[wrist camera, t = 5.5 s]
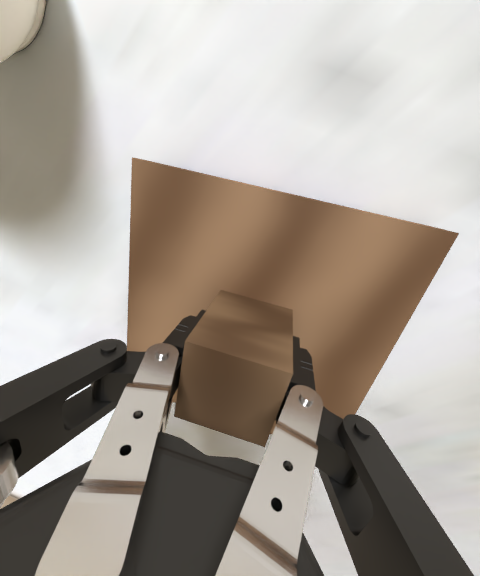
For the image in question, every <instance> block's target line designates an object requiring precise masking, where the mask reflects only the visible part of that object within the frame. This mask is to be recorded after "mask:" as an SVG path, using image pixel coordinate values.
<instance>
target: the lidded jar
mask: <svg viewBox="0 0 480 576" xmlns="http://www.w3.org/2000/svg"><path fill="white" fill-rule="evenodd" d="M45 7H46V0H0V63H1V62H3V61H5V60H6V59H8V58H9V57H10V56H11V55H12V54H14V53H16V52H19V51H21V50H23V49H24V48H26V47H27V46H28V45H29V44H30V43H31V42H32V41H33V39H34V38H35V37H36V35H37V33H38V31H39V29H40V27H41V24H42V21H43V18H44V12H45Z"/></svg>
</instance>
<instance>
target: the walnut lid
mask: <svg viewBox="0 0 480 576" xmlns="http://www.w3.org/2000/svg"><path fill="white" fill-rule="evenodd" d="M458 234H459V233H455V232H451V231H447V230H444V229H439V228H435V227H431V226H426V225H422V224H418V223H414V222H409V221H405V220H401V219H396V218H392V217H388V216H383V215H379V214H375V213H371V212H366V211H362V210H358V209H353V208H349V207H345V206H340V205H336V204H332V203H328V202H323V201H319V200H315V199H310V198H306V197H302V196H297V195H293V194H289V193H285V192H280V191H276V190H272V189H267V188H263V187H259V186H254V185H250V184H246V183H242V182H237V181H233V180H229V179H224V178H220V177H216V176H211V175H207V174H203V173H199V172H194V171H190V170H186V169H181V168H177V167H173V166H168V165H164V164H160V163H156V162H151V161H147V160H142V159H137V158H132V180H131V218H130V255H129V293H128V330H127V351H137V352H145V351H147V349H148V348H149V347H150V346H152V345H155V344H158V343H163V342H164V340H165V339H166V338H167V337H168V336H169V335H170V333H171V332H172V331H173V330H174V329H175V327H176V326H177V325H178V324H179V323H180V322H181V320H182V319H183V318H185V317H188V316H190V315H192V316H195V317H196V316H197V315H198V314H199V312H200V311H201V310H202V309H203V310H206V312H205V313H204V315H203V316H202V318H201V319H200V320H199V322H198V323H197V325H196V326H195V327H194V329H193V330H192V332H191V333H190V335H189V336H188V337H187V339H186V340H185V344H184V351H183V358H182V365H181V372H180V379H179V386H178V389H177V390H176V392H175V394H174V395H173V400H172V402H175V403H176V407H175V414H174V416H175V417H178V418H180V419H183V420H186V421H189V422H192V423H195V424H198V425H201V426H204V427H207V428H210V429H213V430H216V431H219V432H222V433H225V434H228V435H231V436H234V437H237V438H240V439H243V440H246V441H249V442H252V443H254V444H257V445H260V446H263V447H265V445H266V442H267V440H268V437H269V434H273V432H274V429H275V427H276V420H275V419H276V417H277V414H278V411H279V409H280V406H281V404H282V401H283V399H284V396H285V393H286V391H287V388H288V386H289V383H290V381H291V378H292V375H293V336H296V337H299V339H300V348H304V349H307V350H308V352H309V353H310V355H311V357H312V365H313V372H314V381H315V389H316V392H317V393H318V394H319V396H320V397H321V399H322V401H323V406H324V407H325V408H326V409H328V410H329V411H330V412H332V413H334V414H335V415H337V416H339V417H340V418H342V419H344V417H345V416H347V415H349V414H354V415H355V413H356V412H357V410H358V408H359V406H360V405H361V403H362V401H363V399H364V398H365V396H366V394H367V392H368V391H369V389H370V387H371V386H372V384H373V382H374V380H375V379H376V377H377V375H378V373H379V372H380V370H381V368H382V366H383V365H384V363H385V361H386V359H387V358H388V356H389V354H390V352H391V351H392V349H393V347H394V345H395V344H396V342H397V340H398V339H399V337H400V335H401V333H402V332H403V330H404V328H405V326H406V325H407V323H408V321H409V319H410V318H411V316H412V314H413V312H414V311H415V309H416V307H417V305H418V304H419V302H420V300H421V298H422V297H423V295H424V293H425V292H426V290H427V288H428V286H429V285H430V283H431V281H432V279H433V278H434V276H435V274H436V272H437V271H438V269H439V267H440V265H441V264H442V262H443V260H444V258H445V257H446V255H447V253H448V251H449V250H450V248H451V246H452V245H453V243H454V241H455V239H456V238H457V236H458Z"/></svg>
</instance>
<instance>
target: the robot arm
mask: <svg viewBox="0 0 480 576" xmlns="http://www.w3.org/2000/svg"><path fill="white" fill-rule="evenodd" d="M205 312H206V310H203V309H202V310H201V311H200V312H199V314H198V315H197V316H196V317H195V316H192V315H190V316H188V317H185V318H183V319H182V320H181V322H180V323H179V324H178V325H177V326H176V327H175V329H174V330H173V331H172V332H171V333H170V335H169V336H168V337H167V338H166V339H165V340H164V342H163V343H158V344H155V345H152V346H150V347H149V348H148V349H147V351H145V352H137V351H127V346H126V344H125V343H124V342H122V341H120V340H117V339H106V340H102V341H99V342H97V343H94V344H92V345H90V346H88V347H86V348H83V349H81V350H79V351H77V352H74V353H72V354H70V355H68V356H66V357H63V358H61V359H59V360H57V361H55V362H52V363H50V364H48V365H46V366H44V367H41V368H39V369H37V370H35V371H32V372H30V373H28V374H26V375H24V376H21V377H19V378H17V379H15V380H13V381H10V382H8V383H6V384H4V385H2V386H0V507H1V506H2V504H3V502H4V500H5V499H6V498H7V497H8V496H9V495H10V493H11V492H12V491H13V489H14V487H15V485H16V483H17V480H18V478H19V477H21V476H22V475H24V474H25V473H26V472H28V471H29V470H30V469H32V468H33V467H35V466H36V465H37V464H39V463H40V462H41V461H43V460H44V459H46V458H47V457H48V456H50V455H51V454H52V453H54V452H55V451H57V450H58V449H59V448H61V447H62V446H63V445H65V444H66V443H68V442H69V441H70V440H72V439H73V438H74V437H76V436H77V435H79V434H80V433H81V432H83V431H84V430H86V429H87V428H88V427H90V426H91V425H92V424H94V423H95V422H97V421H98V420H99V419H101V418H102V417H103V416H105V415H106V414H108V413H109V412H110V411H112V410H113V409H114V408H116V409H115V411H114V413H113V415H112V417H111V420H110V422H109V424H108V426H107V428H106V430H105V433H104V435H103V437H102V439H101V441H100V443H99V446H98V448H97V450H96V452H95V454H94V457H93V459H92V460H90V461H88V462H86V463H84V464H83V465H81V466H79V467H77V468H75V469H73V470H72V471H70V472H68V473H66V474H64V475H62V476H61V477H59V478H57V479H55V480H53V481H51V482H50V483H48V484H46V485H44V486H42V487H40V488H38V489H37V490H35V491H33V492H31V493H29V494H27V495H26V496H24V497H22V498H20V499H18V500H16V501H15V502H13V503H11V504H9V505H7V506H5V507H4V508H2V509H0V576H324V574H323V572H322V570H321V568H320V566H319V564H318V562H317V560H316V558H315V556H314V554H313V552H312V550H311V548H310V546H309V544H308V542H307V540H306V538H305V536H304V534H303V526H304V521H305V516H306V511H307V505H308V500H309V495H310V490H311V484H312V479H313V474H314V468H315V466H316V467H317V468H319V472H320V476H321V478H322V481H323V483H324V486H325V489H326V491H327V494H328V497H329V499H330V502H331V505H332V507H333V510H334V513H335V515H336V518H337V520H338V523H339V526H340V528H341V531H342V534H343V536H344V539H345V542H346V544H347V547H348V549H349V552H350V555H351V557H352V560H353V563H354V565H355V568H356V571H357V573H358V576H474V575H473V574H472V572H471V571H470V569H469V568H468V566H467V564H466V563H465V561H464V560H463V558H462V557H461V555H460V554H459V552H458V551H457V549H456V548H455V546H454V545H453V543H452V542H451V540H450V539H449V537H448V536H447V534H446V533H445V531H444V530H443V528H442V527H441V525H440V524H439V522H438V521H437V519H436V518H435V516H434V515H433V513H432V512H431V510H430V509H429V507H428V506H427V504H426V503H425V501H424V500H423V498H422V497H421V495H420V494H419V492H418V491H417V489H416V488H415V486H414V485H413V483H412V482H411V480H410V479H409V477H408V476H407V474H406V473H405V471H404V470H403V468H402V467H401V465H400V464H399V462H398V461H397V459H396V458H395V456H394V455H393V453H392V452H391V450H390V449H389V447H388V446H387V444H386V443H385V441H384V440H383V438H382V437H381V435H380V434H379V432H378V431H377V429H376V428H375V427H374V426H373V425H372V424H371V423H370V422H369V421H368V420H366V419H364V418H363V417H361V416H358V415H354V414H349V415H347V416H345V417H344V419H342V418H340V417H339V416H337V415H335V414H334V413H332V412H330V411H329V410H328V409H326V408H325V407H324V406H323V401H322V399H321V397H320V396H319V394H318V393H317V392H316V389H315V381H314V372H313V365H312V357H311V355H310V353H309V352H308V350H307V349H304V348H300V339H299V337H296V336H293V375H292V378H291V381H290V383H289V386H288V388H287V391H286V393H285V396H284V399H283V401H282V404H281V406H280V409H279V411H278V414H277V417H276V419H275V420H276V427H275V429H274V432H273V434H272V437H271V439H270V442H269V444H268V447H267V449H266V452H265V454H264V456H263V459H262V461H261V464H260V466H259V465H256V464H253V463H251V462H248V461H245V460H242V459H239V458H231V457H216V456H207V455H205V454H203V453H202V452H200V451H199V450H197V449H196V448H195V447H193V446H192V445H190V444H189V443H187V442H186V441H184V440H183V439H181V438H178V437H175V436H172V435H170V434H167V433H165V432H166V427H167V423H168V418H169V414H170V409H171V405H172V400H173V395H174V394H175V392H176V390H177V389H178V386H179V379H180V372H181V365H182V358H183V351H184V344H185V340H186V339H187V337H188V336H189V335H190V333H191V332H192V330H193V329H194V327H195V326H196V325H197V323H198V322H199V320H200V319H201V318H202V316H203V315H204V313H205ZM89 384H91V386H90V387H88V388H87V389H85V390H83V391H81V392H80V393H78V394H76V395H75V396H73V397H71V398H70V399H68V400H66V399H67V398H68V397H69V396H71V395H72V394H74V393H76V392H77V391H79V390H81V389H83V388H84V387H86V386H88V385H89ZM65 400H66V401H65Z"/></svg>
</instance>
